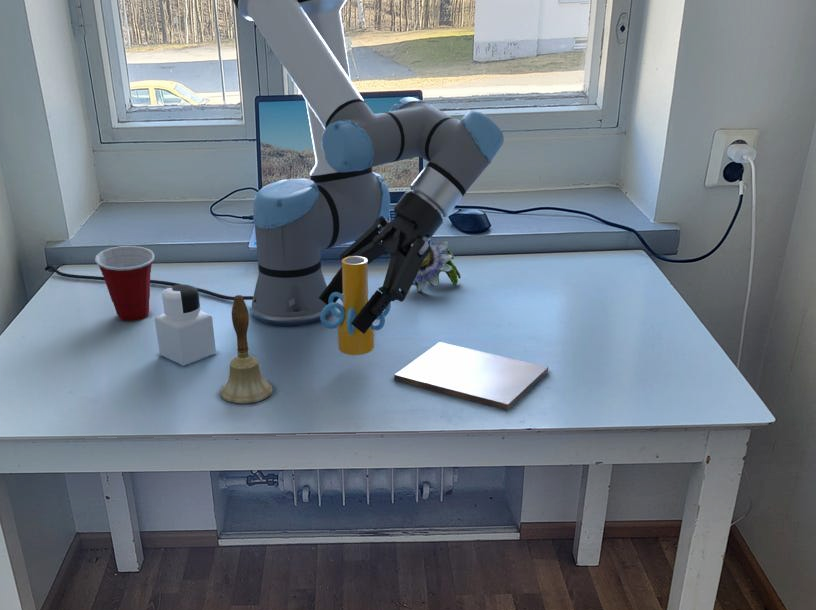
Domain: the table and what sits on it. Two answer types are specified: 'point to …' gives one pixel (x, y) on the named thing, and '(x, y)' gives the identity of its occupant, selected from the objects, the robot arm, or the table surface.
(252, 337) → the table surface
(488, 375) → the plate
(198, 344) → the medicine bottle
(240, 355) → the hand bell
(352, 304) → the cylinder
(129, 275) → the plastic cup
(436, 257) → the passion flower
